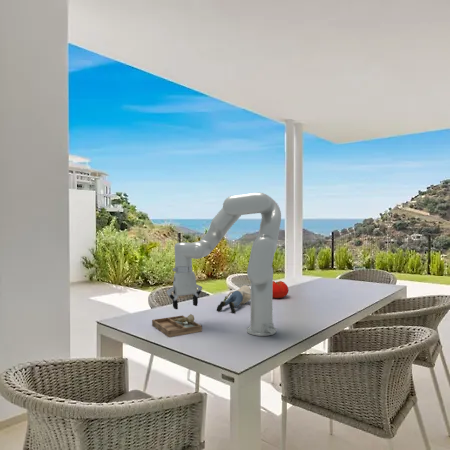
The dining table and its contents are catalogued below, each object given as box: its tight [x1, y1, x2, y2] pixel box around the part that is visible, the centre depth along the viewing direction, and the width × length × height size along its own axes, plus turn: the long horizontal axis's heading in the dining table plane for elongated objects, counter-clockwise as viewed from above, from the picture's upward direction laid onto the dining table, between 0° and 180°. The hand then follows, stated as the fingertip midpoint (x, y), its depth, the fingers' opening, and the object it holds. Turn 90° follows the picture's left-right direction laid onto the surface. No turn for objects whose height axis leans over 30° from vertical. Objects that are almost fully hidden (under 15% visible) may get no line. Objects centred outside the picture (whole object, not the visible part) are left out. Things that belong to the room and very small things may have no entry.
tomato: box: [272, 280, 289, 299], centre depth 236 cm, size 14×16×10 cm
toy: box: [216, 284, 251, 314], centre depth 212 cm, size 23×10×30 cm
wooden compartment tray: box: [151, 315, 203, 338], centre depth 170 cm, size 21×15×2 cm
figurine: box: [173, 313, 195, 326], centre depth 172 cm, size 4×4×15 cm
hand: (185, 307), depth 172 cm, fingers open, 9 cm apart
